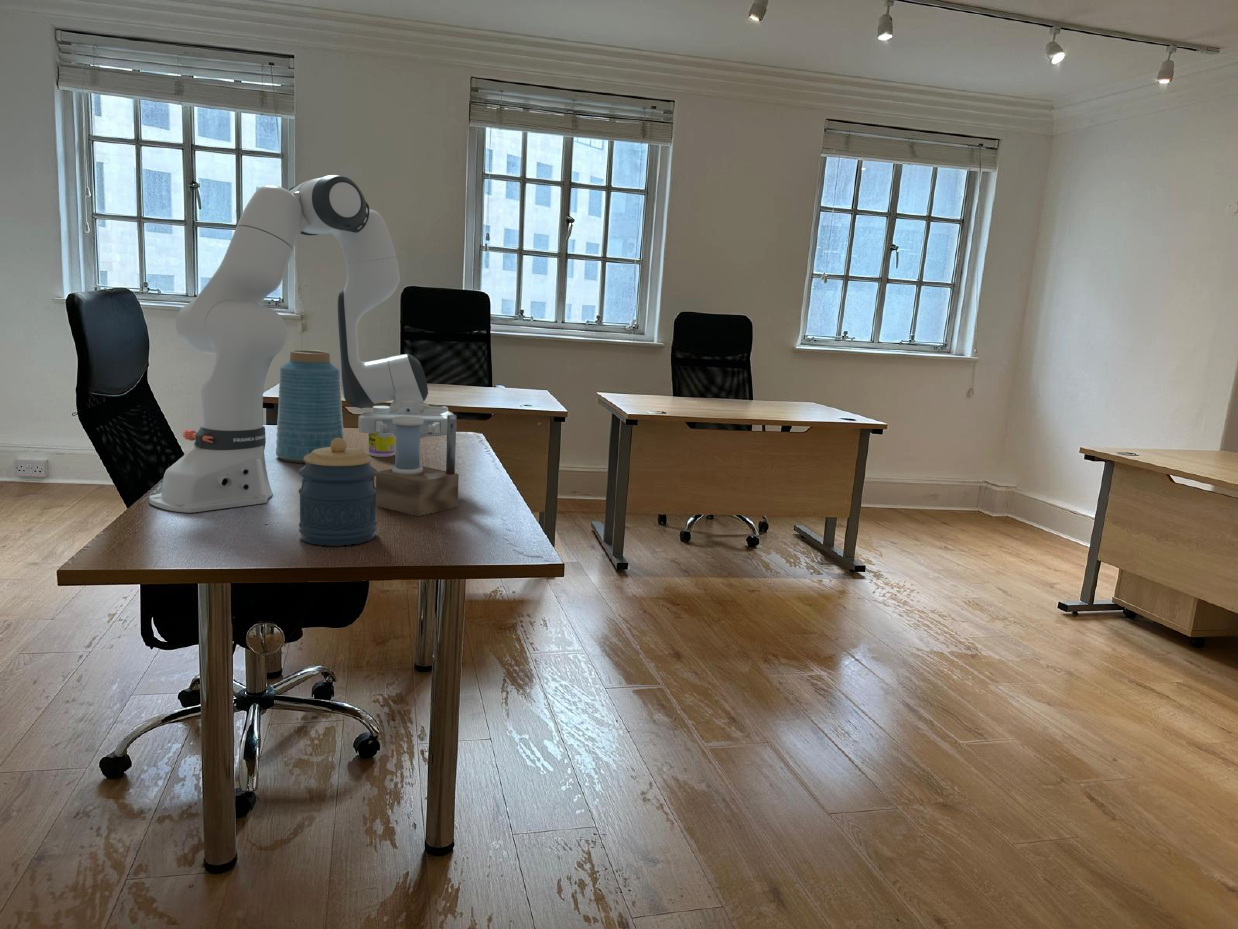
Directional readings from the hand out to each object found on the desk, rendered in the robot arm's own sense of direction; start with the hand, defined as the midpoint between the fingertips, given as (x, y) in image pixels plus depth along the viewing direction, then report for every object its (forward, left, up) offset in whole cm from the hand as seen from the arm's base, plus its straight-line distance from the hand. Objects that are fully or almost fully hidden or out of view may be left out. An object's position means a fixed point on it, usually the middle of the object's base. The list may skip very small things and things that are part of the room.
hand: (408, 429), depth 173 cm
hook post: (+1, -11, -8) cm, 14 cm away
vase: (+14, +48, -15) cm, 53 cm away
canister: (-27, -11, -15) cm, 33 cm away
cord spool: (-3, -3, -8) cm, 9 cm away
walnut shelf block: (-2, -5, -15) cm, 16 cm away
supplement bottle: (+30, +40, -15) cm, 53 cm away
